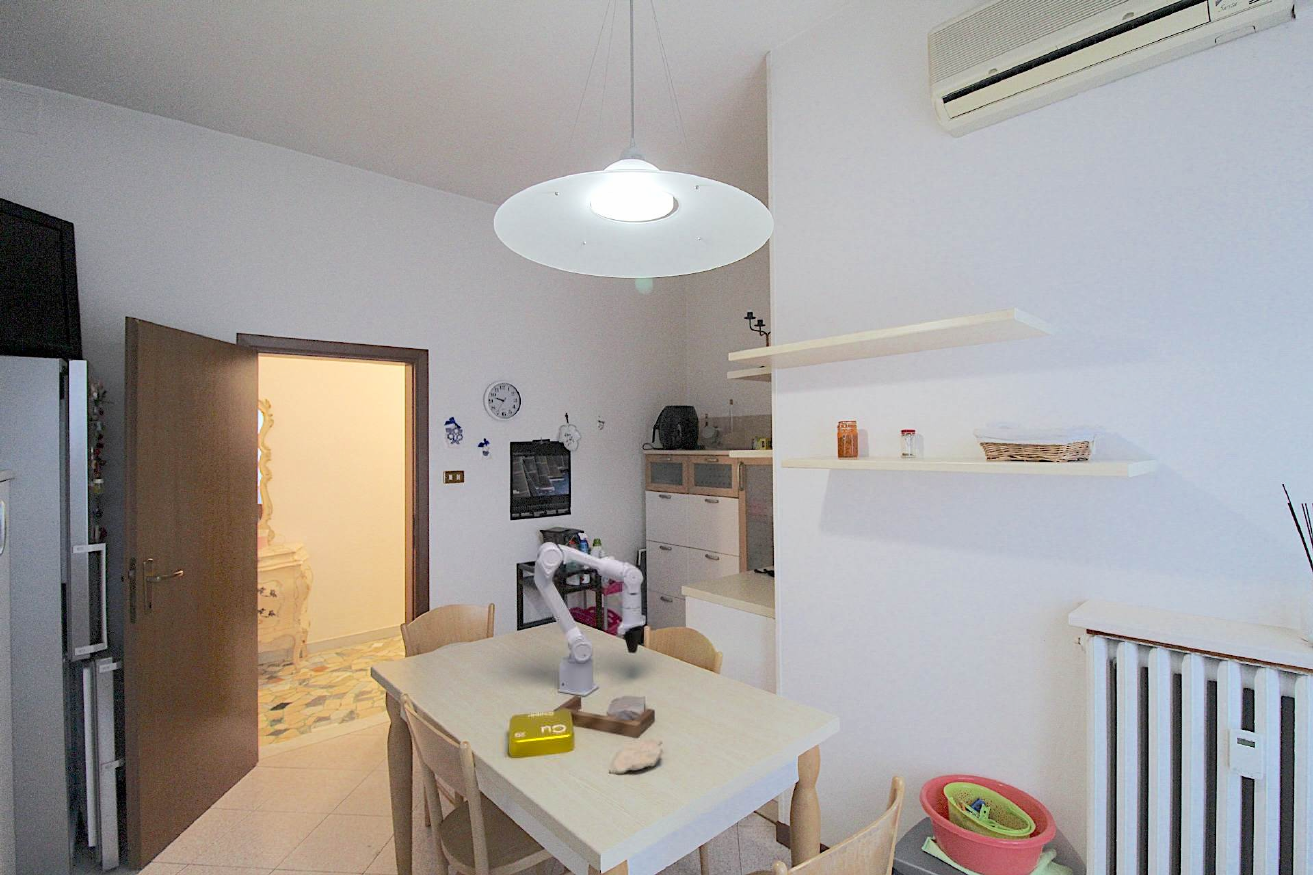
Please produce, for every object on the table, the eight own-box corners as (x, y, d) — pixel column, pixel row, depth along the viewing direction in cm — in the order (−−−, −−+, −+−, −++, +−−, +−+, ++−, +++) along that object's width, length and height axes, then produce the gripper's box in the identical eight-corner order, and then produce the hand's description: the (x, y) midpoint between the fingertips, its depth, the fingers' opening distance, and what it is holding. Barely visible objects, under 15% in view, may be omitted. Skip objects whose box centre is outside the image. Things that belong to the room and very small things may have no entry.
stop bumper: (554, 721, 160) (553, 709, 160) (575, 706, 169) (574, 695, 169) (637, 738, 150) (637, 725, 150) (654, 721, 159) (654, 709, 159)
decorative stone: (642, 744, 148) (597, 775, 137) (639, 728, 148) (594, 758, 137) (677, 751, 141) (632, 785, 130) (674, 734, 141) (629, 766, 130)
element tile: (570, 725, 159) (570, 706, 159) (575, 753, 144) (574, 732, 144) (510, 732, 156) (510, 712, 156) (508, 761, 141) (508, 739, 141)
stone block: (608, 733, 157) (647, 725, 157) (604, 714, 157) (643, 706, 158) (612, 715, 169) (648, 707, 169) (608, 698, 169) (644, 689, 169)
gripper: (632, 613, 178) (633, 661, 177) (654, 602, 191) (654, 646, 191) (611, 611, 181) (611, 658, 180) (633, 600, 194) (634, 643, 193)
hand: (632, 652), depth 186 cm, fingers closed
